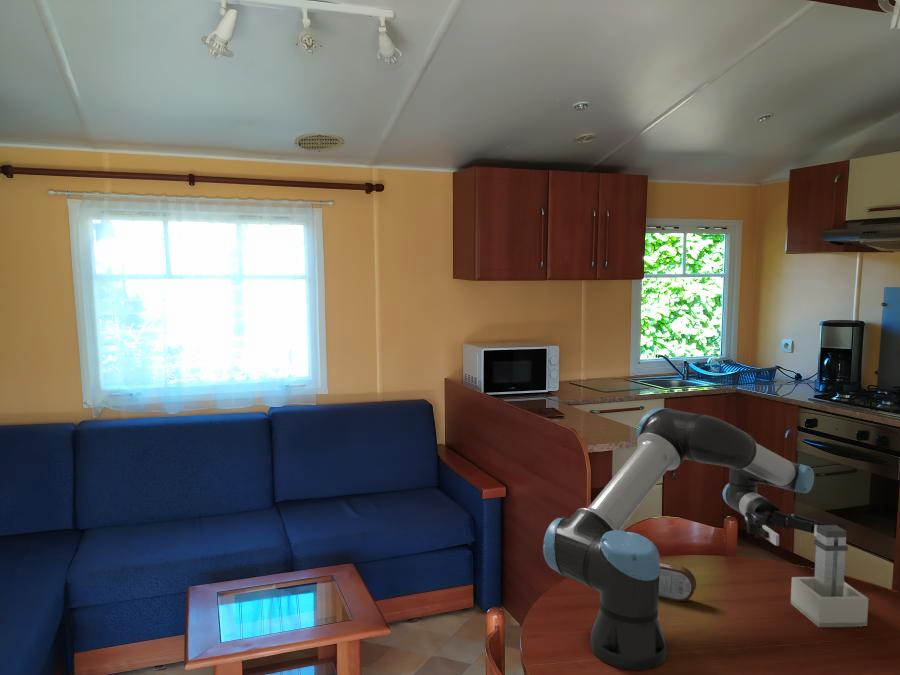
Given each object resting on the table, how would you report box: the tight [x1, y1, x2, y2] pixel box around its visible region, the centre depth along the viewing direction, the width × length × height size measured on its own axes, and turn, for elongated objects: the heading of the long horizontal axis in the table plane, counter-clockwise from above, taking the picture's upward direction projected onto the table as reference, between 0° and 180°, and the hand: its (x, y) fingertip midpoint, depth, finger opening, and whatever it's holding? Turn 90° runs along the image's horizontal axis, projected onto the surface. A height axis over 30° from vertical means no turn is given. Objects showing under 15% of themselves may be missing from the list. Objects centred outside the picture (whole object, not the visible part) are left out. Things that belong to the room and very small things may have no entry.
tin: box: [659, 560, 697, 602], centre depth 157 cm, size 15×3×8 cm, turn 63°
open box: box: [790, 576, 869, 628], centre depth 148 cm, size 11×11×6 cm
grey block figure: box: [813, 524, 849, 597], centre depth 148 cm, size 5×5×20 cm
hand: (804, 540), depth 157 cm, fingers open, 13 cm apart
